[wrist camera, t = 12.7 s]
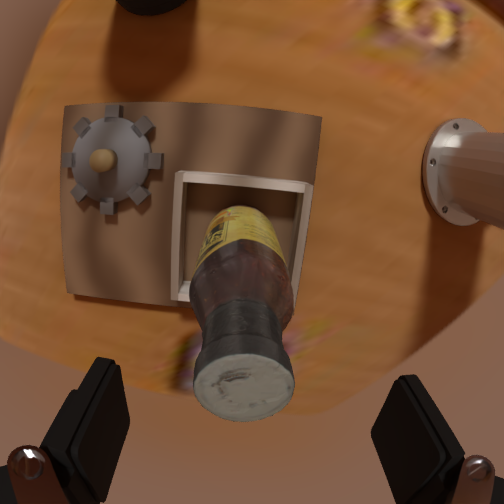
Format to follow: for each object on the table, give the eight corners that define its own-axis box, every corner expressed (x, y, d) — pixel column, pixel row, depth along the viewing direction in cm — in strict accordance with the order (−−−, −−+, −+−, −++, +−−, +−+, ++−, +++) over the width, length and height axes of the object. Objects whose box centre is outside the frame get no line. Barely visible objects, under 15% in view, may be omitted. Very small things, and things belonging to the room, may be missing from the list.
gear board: (318, 118, 28) (332, 113, 24) (291, 308, 35) (298, 331, 30) (71, 107, 26) (48, 103, 22) (72, 287, 33) (54, 305, 28)
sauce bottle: (213, 196, 29) (169, 293, 10) (280, 209, 29) (351, 323, 11) (201, 262, 31) (159, 423, 12) (264, 274, 31) (298, 440, 13)
